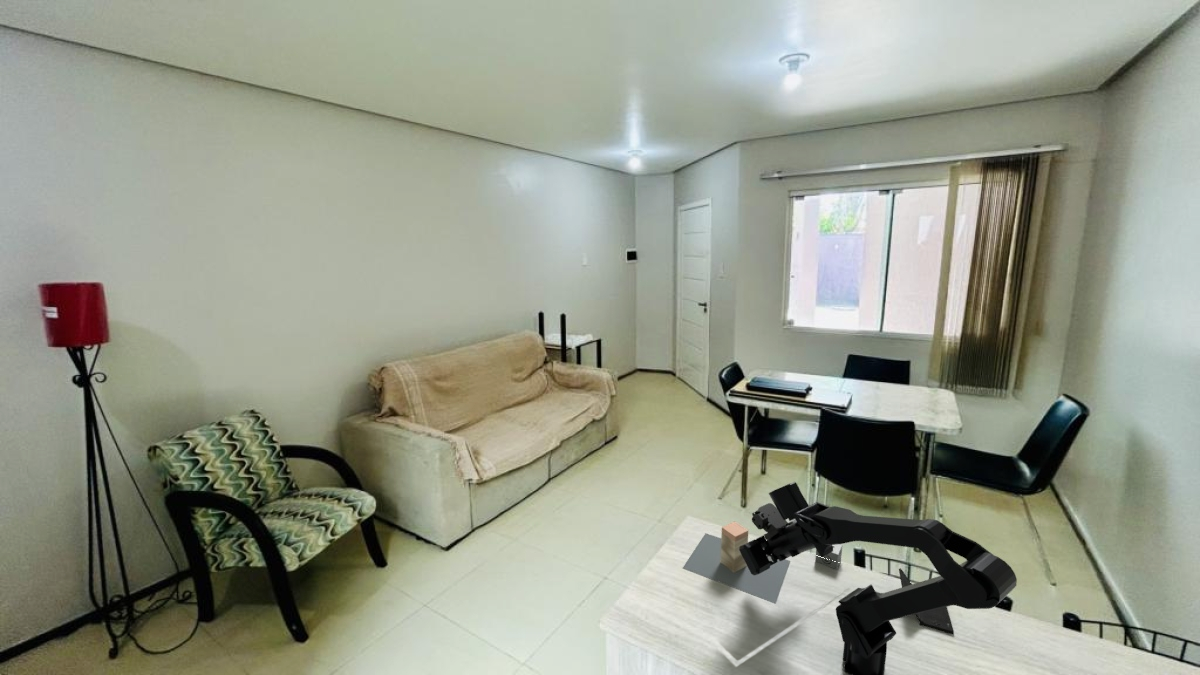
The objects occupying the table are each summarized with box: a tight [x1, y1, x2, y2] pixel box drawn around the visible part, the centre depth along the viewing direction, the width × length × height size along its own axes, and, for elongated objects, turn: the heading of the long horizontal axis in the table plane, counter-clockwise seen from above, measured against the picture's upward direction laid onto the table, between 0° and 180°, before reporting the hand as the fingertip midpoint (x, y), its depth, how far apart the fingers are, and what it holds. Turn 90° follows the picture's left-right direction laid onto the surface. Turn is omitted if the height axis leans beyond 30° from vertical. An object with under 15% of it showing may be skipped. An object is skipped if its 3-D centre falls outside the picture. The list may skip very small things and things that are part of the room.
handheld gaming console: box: [898, 567, 955, 635], centre depth 103 cm, size 12×7×10 cm
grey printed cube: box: [814, 544, 843, 570], centre depth 118 cm, size 5×5×5 cm
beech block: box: [720, 521, 749, 572], centre depth 117 cm, size 4×4×10 cm
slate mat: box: [682, 533, 791, 604], centre depth 118 cm, size 22×16×1 cm
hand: (754, 554), depth 111 cm, fingers closed
